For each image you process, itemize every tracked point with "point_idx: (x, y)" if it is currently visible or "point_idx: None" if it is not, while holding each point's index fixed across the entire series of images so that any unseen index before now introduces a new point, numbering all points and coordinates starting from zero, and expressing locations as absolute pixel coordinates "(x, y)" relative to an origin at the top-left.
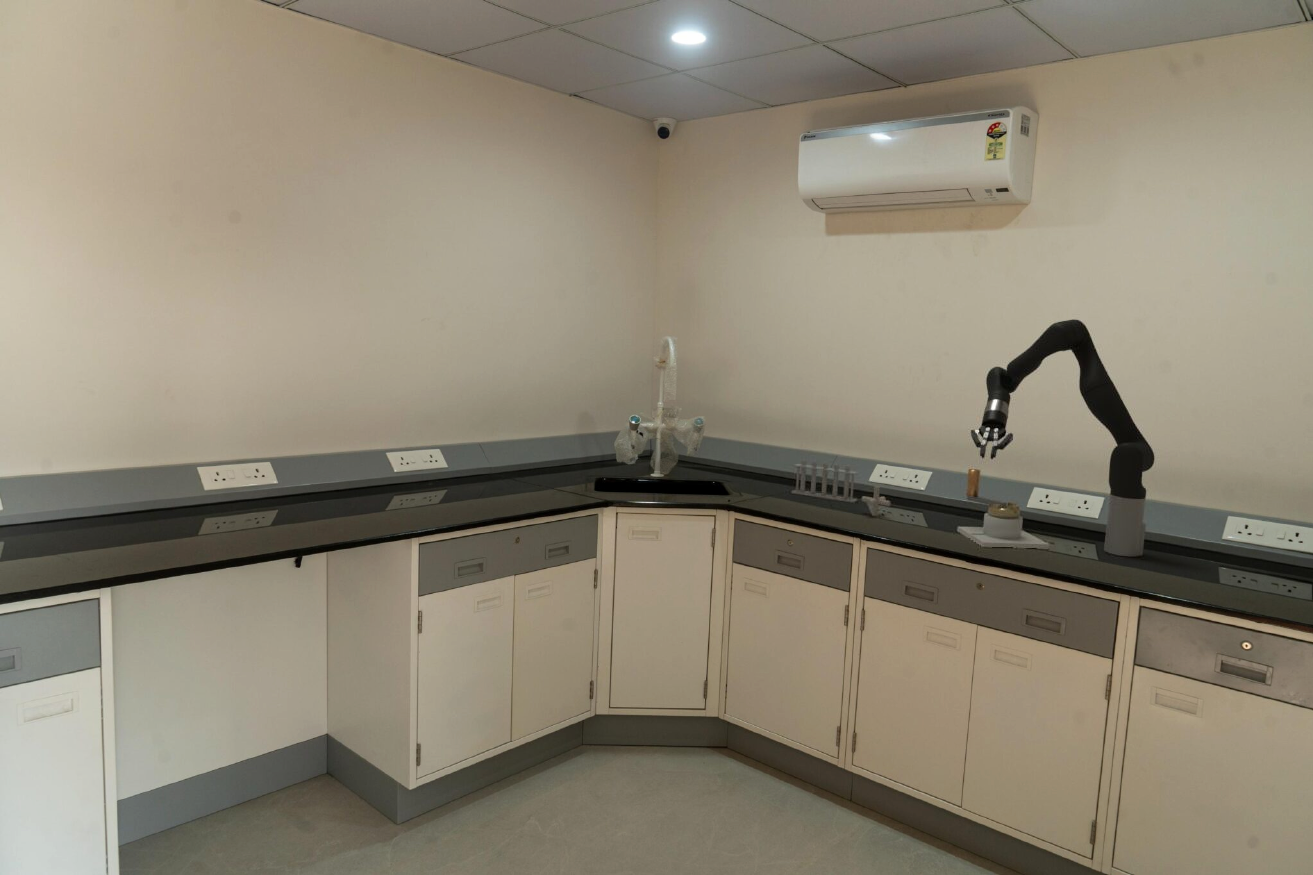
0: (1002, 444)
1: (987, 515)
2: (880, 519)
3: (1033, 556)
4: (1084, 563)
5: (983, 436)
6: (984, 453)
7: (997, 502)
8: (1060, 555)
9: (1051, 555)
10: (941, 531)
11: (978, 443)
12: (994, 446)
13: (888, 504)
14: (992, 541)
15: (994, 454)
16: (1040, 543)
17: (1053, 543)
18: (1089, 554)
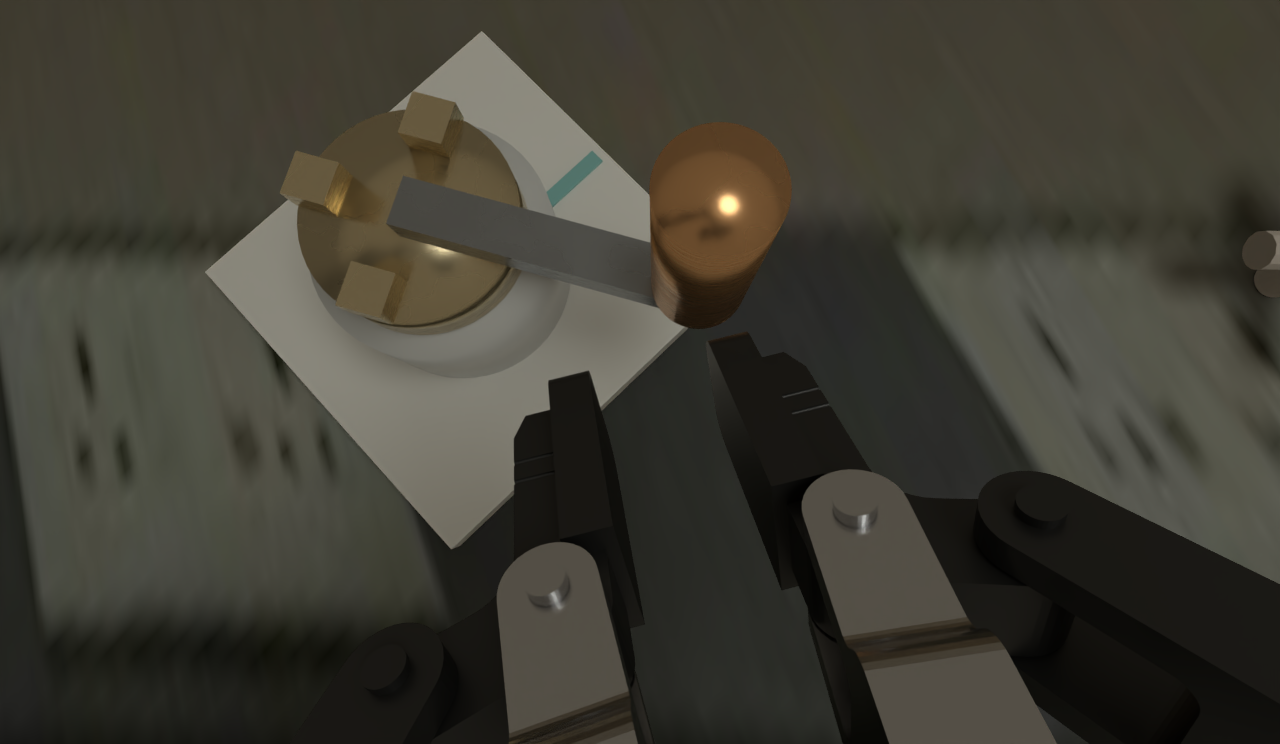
0: (363, 660)
1: (516, 167)
2: (1179, 205)
3: (246, 72)
4: (25, 134)
5: (1026, 687)
6: (728, 418)
7: (448, 188)
8: (147, 197)
9: (182, 161)
10: None
11: (986, 502)
12: (564, 551)
13: (1252, 241)
14: (452, 86)
15: (531, 420)
16: (246, 251)
17: (234, 440)
18: (32, 340)
